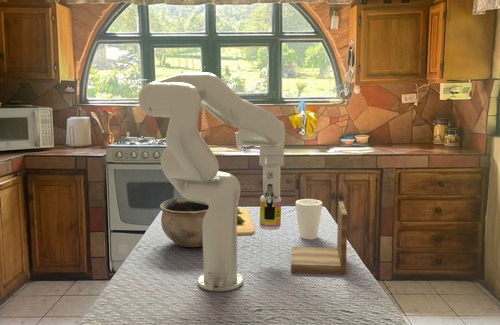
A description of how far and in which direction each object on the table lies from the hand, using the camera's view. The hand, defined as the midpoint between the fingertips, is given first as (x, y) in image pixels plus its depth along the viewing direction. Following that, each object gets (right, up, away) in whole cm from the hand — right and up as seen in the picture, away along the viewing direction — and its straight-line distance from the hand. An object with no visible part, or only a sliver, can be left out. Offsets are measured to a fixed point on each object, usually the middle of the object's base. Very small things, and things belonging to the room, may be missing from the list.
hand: (270, 216), depth 160 cm
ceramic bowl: (-26, -12, +16) cm, 33 cm away
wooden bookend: (+15, -15, -3) cm, 21 cm away
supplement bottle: (0, -4, 0) cm, 4 cm away
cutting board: (-18, -8, +44) cm, 48 cm away
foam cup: (+15, -10, +24) cm, 30 cm away
